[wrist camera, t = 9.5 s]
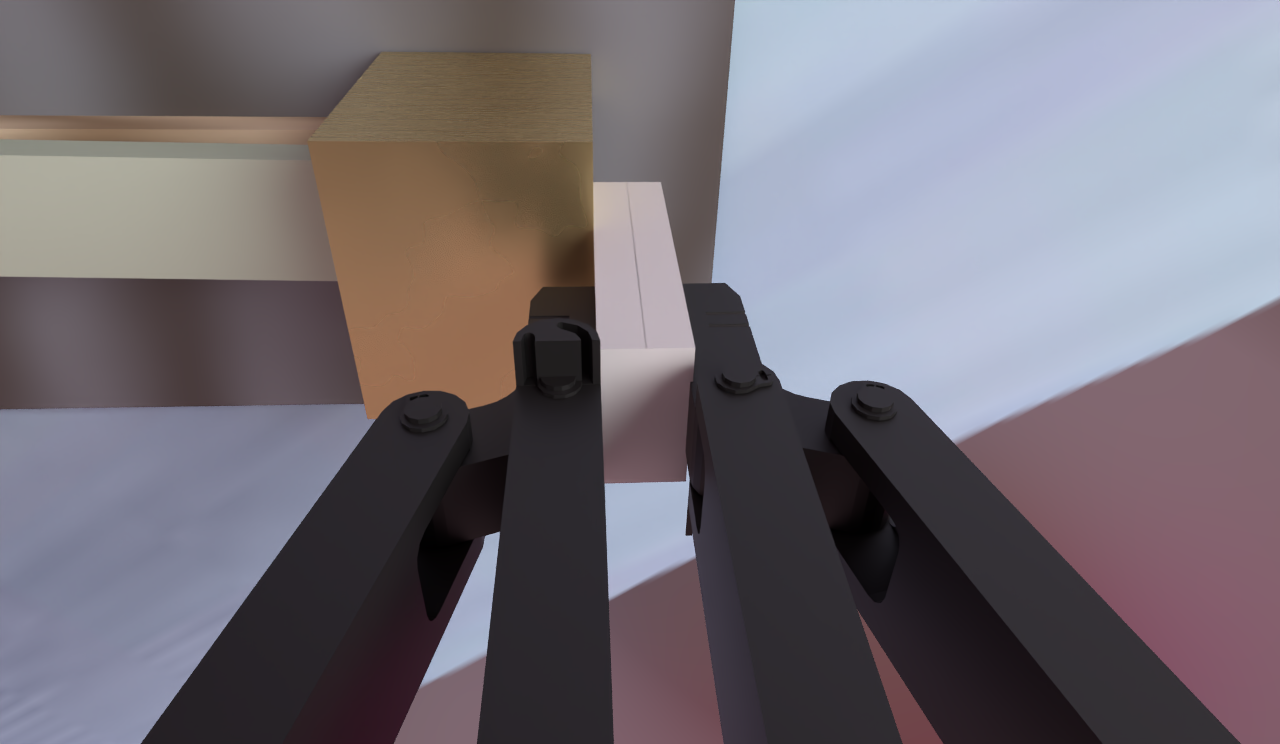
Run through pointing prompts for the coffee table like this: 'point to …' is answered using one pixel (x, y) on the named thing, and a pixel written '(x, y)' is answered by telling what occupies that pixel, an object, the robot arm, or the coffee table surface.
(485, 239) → the collar
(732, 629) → the robot arm
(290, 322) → the tongs base
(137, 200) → the bar
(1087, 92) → the coffee table surface
